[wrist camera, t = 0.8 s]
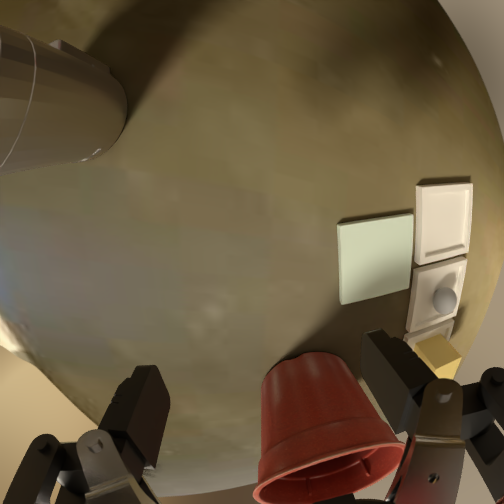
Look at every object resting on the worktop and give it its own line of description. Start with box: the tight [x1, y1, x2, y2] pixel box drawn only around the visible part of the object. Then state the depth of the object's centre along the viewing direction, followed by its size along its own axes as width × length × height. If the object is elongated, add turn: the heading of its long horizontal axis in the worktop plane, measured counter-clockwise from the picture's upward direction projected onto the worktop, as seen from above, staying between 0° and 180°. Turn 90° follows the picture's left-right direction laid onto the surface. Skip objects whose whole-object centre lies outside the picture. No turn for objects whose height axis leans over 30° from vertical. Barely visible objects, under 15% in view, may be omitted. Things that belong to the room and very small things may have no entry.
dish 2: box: [405, 256, 467, 333], centre depth 30 cm, size 9×9×1 cm
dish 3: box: [403, 318, 455, 351], centre depth 34 cm, size 9×9×1 cm
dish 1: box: [414, 182, 473, 265], centre depth 27 cm, size 9×9×1 cm
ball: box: [433, 287, 457, 315], centre depth 29 cm, size 4×4×4 cm
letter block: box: [414, 333, 462, 379], centre depth 31 cm, size 5×5×6 cm
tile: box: [337, 213, 413, 305], centre depth 28 cm, size 9×9×1 cm
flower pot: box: [253, 352, 406, 504], centre depth 27 cm, size 16×16×16 cm
